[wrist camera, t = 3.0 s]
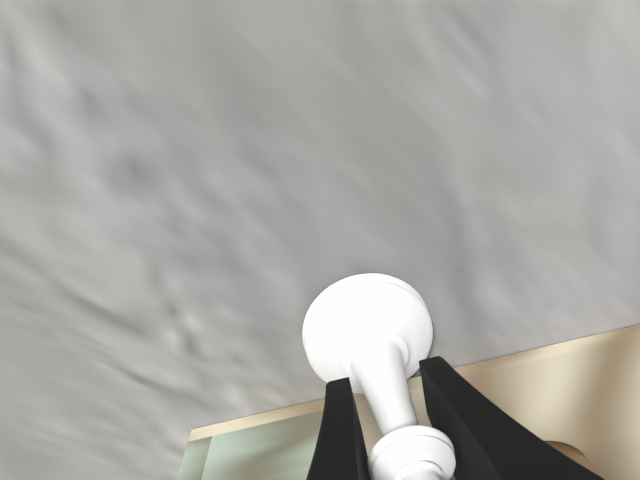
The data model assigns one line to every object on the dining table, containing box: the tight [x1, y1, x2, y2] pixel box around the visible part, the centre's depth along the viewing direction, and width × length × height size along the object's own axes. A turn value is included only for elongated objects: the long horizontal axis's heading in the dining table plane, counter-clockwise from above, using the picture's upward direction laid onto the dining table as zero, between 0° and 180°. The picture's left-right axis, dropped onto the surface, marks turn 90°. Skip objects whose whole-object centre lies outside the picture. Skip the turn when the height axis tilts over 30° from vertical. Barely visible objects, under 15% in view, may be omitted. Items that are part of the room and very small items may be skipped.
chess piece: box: [302, 273, 456, 480], centre depth 9 cm, size 5×5×10 cm
